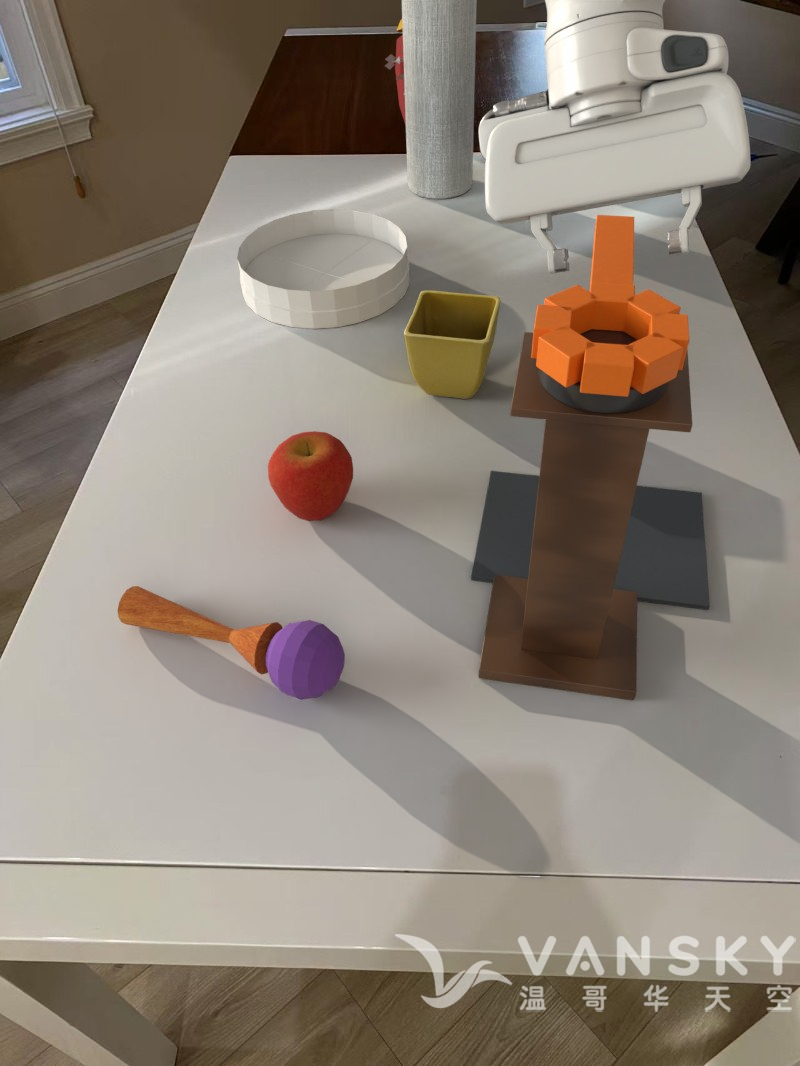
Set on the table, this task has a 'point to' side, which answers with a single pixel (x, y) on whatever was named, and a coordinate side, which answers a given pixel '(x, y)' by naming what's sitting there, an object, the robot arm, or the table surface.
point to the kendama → (251, 642)
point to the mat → (648, 551)
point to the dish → (324, 268)
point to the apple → (311, 474)
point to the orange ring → (610, 324)
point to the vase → (439, 95)
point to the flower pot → (451, 341)
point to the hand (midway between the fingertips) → (617, 263)
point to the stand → (578, 534)
